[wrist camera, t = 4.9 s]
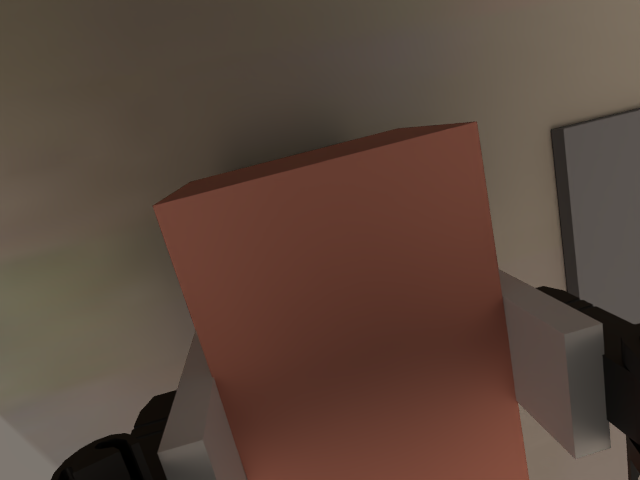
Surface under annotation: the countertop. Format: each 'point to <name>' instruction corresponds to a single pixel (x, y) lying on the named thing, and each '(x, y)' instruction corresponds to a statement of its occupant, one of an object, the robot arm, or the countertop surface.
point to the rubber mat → (601, 210)
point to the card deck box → (354, 310)
